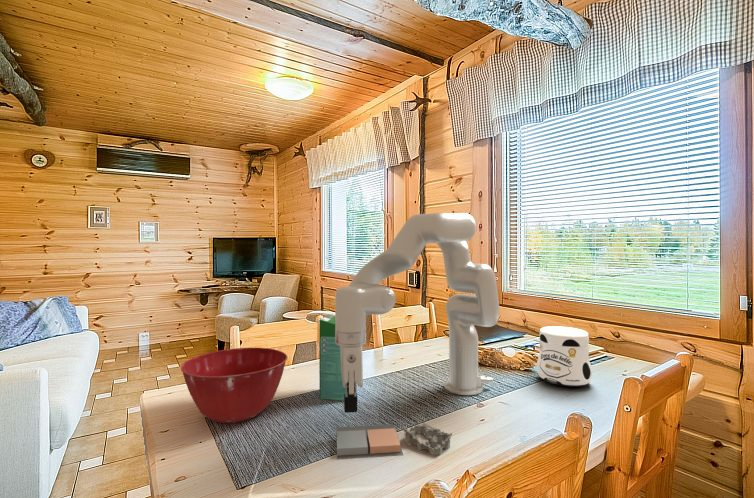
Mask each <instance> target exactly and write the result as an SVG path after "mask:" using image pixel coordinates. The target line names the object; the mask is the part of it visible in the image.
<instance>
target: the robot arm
mask: <svg viewBox="0 0 754 498" xmlns="http://www.w3.org/2000/svg"><path fill="white" fill-rule="evenodd" d="M476 224H477V223H476V221H475V219H474V217H473V216H472V215H471V214H469V213H466V212H461V213H460V212H459V213H458V212H454V213H453V212H451V213H450V212H431V213H420V214H418V213H417V214H413V215H411V216H410V217H408V219H407V220H406V221H405V222H404V224H403V226H402V227H401V228H400V230H399V232H398V233H397V234H396V236H395V238H394V239H393V240H392V241H391V243H390V245H388V248H387V249H385V250H384V251H383V252H381V253H380V254H378V255H376V256H375V257H374V258H372V259H371V260H370V261H369V262H367V263H366V264H365V265H363V266H362V267H361V268H360V269H359V270H358V272H357V273H356V274H355V276H354V277H353V278H352V280H351V281H350V283H349V285H348V286H342V287H339V288H337V289H336V291H335V296H334V297H335V298H334V299H335V300H334V301H335V302H334V307H335V308H334V309H335V310H334V312H335V344H336V345H338V346H340V361H341V375H342V383H343V387H344V388H345V394H344V401H343V412H344V413H345V414H347V413H350V414H351V413H357V412H358V393H357V391H358V390H357V389H358V388H357V387H360V388H362V387H363V386H364V382H363V381H364V379H363V376H364V375H363V373H364V372H363V371H364V369H363V346H364V345H366V343H367V342H366V341H367V329H366V327H367V325H366V324H367V322H366V321H367V320H366V319H367V315H368V316H369V315H375V316H376V315H377V316H378V315H384V314H385V315H386V314H388V313H389V312H391V311H392V310H393V308H394V307H395V305H396V300H397V299H396V297H397V296H396V294H395V292H394V291H393V289H391V288H390V287H389V286H387V285H382V284H380V283H381V282H382V281H384V280H385V279H387V278H389V277H392V276H394V275H397V274H401V273H403V272H405V271H407V270H410V269H411V268H412V267H413V266H414V265H415V263H416V262H417V260H418V259H419V258H420V257H419V256H420V255H421V253H422V252H423V250H424V249H425V247H426V246H427V244H436V245H437V246H438V247H439V249H440V250H441V253H442V258H443V264H444V271H445V278H446V283H447V286H448V288H449V289H450V290H451V291H454V292H460V293H456V294H453V295H451V296H450V297H449V298H448V299H447V300H446V301H447V302H446V304H445V311H446V312H445V313H446V317H447V322H448V335H449V336H448V337H449V338H448V340H449V341H448V356H449V357H448V380H446V381H445V382H444V384H443V385H444V389H445V390H446V391H447V392H449V393H450V394H454V395H460V396H475V395H478V394H481V393H483V391H484V386H483V385H484V384H493V381H494V380H493V378H492V377H491V376H489V377H486V375H479V336H478V331H477V329H476V327H475V326H479V327H484V328H491V327H493V326H495V325H497V323H498V321H499V317H500V303H499V300H500V299H499V294H498V293H499V292H498V286H497V277H496V274H495V271H494V269H493V268H492V267H491V266H490V265H489V264H485V263H473V262H472V260H471V254H470V249H469V246H468V243H467V242H468V241H470V240H472V239H473V237H474V235H476V231H477V225H476Z"/></svg>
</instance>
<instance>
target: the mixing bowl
mask: <svg viewBox="0 0 754 498" xmlns="http://www.w3.org/2000/svg"><path fill="white" fill-rule="evenodd" d="M287 360H288V355H287V354H286V353H285V352H284V351H281V350H278V349H275V348H269V347H237V348H229V349H222V350H221V349H220V350H216V351H211V352H207V353H203V354H200V355H197V356H195V357H191V358H190V359H187V360H186V361H184V363H182V364H181V366H180V371H181V372H182V373H183V375H182V376H183V378H184V381H185V384H186V387H187V390H188V392H189V394H190V397H191V398H192V401H193V403H194V404H195V406H196V408H197V410H198V411H199V412H200V413H201V414H202V415H203V416H204V417H206V418H208V419H210V420H212V421H214V422H216V423H218V424H219V423H220V424H235V423H236V424H237V423H242V422H244V421H248V420H250V419H253V418H256V417H257V416H258V415H259V414H260V413H262V412H263V411H265V409H267V407H269V405H270V403H271V402H272V400H273V399H274V397H275V395H276V392H277V390H278V388H279V385H280V383H281V380H282V377H283V374H284V370H285V365H286V362H287Z"/></svg>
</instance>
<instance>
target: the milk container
mask: <svg viewBox="0 0 754 498" xmlns="http://www.w3.org/2000/svg"><path fill="white" fill-rule="evenodd" d="M536 369H537V370H536V371H537V374H538V376H539V378H540V379H542V380H543V381H544V382H547V383H549V384H552V385H556V386H560V387H566V388H581V387H584V386H587V385H589V384H590V382H591V379H592V374H593V371H592V365H591V362H590V338H589V332H587V331H586V330H584V329H581V328H580V329H579V328H575V327H569V326H557V325H556V326H553V325H551V326H543V327H541V328H540V330H539V354H538V357H537V360H536Z"/></svg>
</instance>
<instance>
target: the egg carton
mask: <svg viewBox="0 0 754 498" xmlns="http://www.w3.org/2000/svg"><path fill="white" fill-rule="evenodd" d="M402 431H404V432H405V434H404V435H405V437H404V440H405V443H406V444H407V445H417V449H419V450H424V449H425V450H428V451H429V454H431V455H442V454H443V449H450V448H451V438H452V436H453V433H449V432H444V431H443V430H441V428H437V427H433V426H431V425H429V424H428V423H425V422H422V423H418V424H416V425H415V424H414V426H413V427H411V428H410V429H409V430H408V428H405V427H403V428H402ZM416 434H420V435H421V434H424V437H425V438H427V441H425V442H421V441H420V437H419V436H416ZM439 443H440V445H439Z"/></svg>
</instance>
